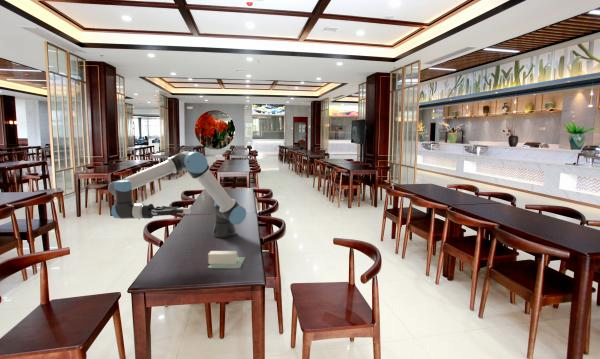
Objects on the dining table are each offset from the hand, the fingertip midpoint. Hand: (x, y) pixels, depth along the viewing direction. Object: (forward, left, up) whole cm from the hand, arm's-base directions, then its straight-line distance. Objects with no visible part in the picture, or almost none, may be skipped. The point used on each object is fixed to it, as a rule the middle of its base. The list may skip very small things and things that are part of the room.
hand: (190, 210), depth 176 cm
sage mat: (0, +18, -28) cm, 33 cm away
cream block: (0, +9, -25) cm, 26 cm away
